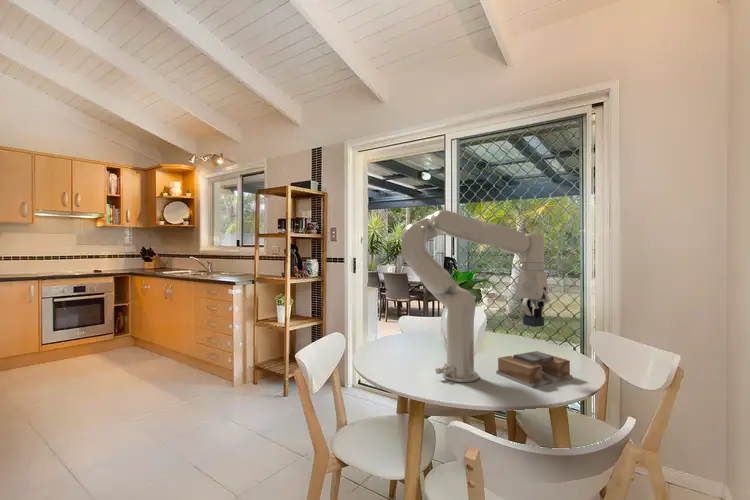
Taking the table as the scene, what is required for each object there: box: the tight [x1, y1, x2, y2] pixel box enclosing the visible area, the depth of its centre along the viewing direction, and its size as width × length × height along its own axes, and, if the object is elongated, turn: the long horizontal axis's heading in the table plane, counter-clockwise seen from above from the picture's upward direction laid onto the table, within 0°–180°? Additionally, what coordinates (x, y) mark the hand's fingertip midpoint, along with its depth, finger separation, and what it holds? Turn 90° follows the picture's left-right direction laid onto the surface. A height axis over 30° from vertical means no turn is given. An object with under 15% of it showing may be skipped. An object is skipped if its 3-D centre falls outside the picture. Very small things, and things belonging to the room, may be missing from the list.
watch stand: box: [495, 350, 573, 389], centre depth 133 cm, size 20×16×7 cm
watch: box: [521, 298, 545, 328], centre depth 134 cm, size 6×8×11 cm
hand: (533, 318), depth 133 cm, fingers closed on watch, 3 cm apart
